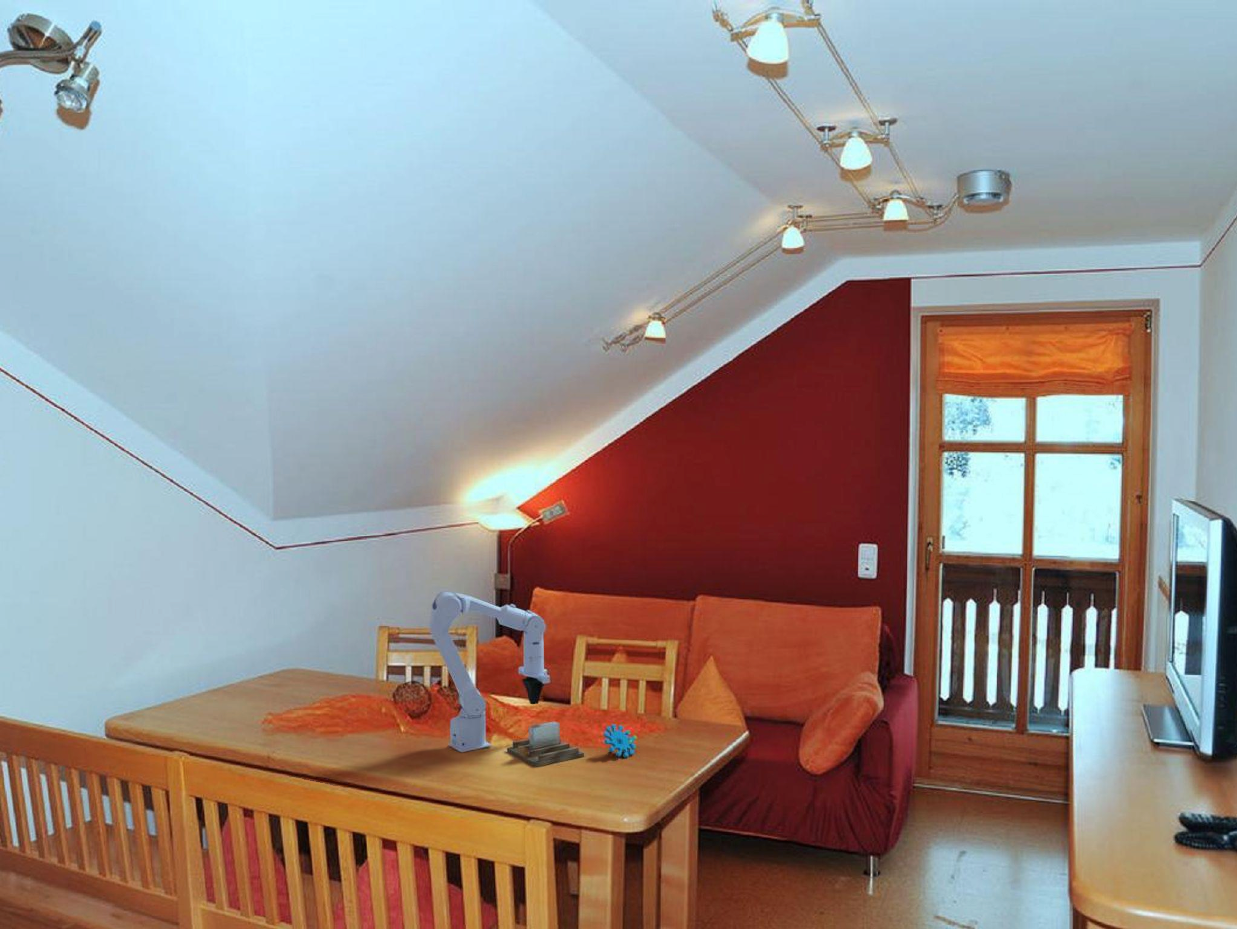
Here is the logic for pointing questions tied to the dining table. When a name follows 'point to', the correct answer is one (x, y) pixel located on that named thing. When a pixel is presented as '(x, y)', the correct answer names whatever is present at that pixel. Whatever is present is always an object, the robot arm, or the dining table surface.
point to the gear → (619, 740)
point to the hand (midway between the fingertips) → (534, 703)
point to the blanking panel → (543, 735)
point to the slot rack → (544, 753)
